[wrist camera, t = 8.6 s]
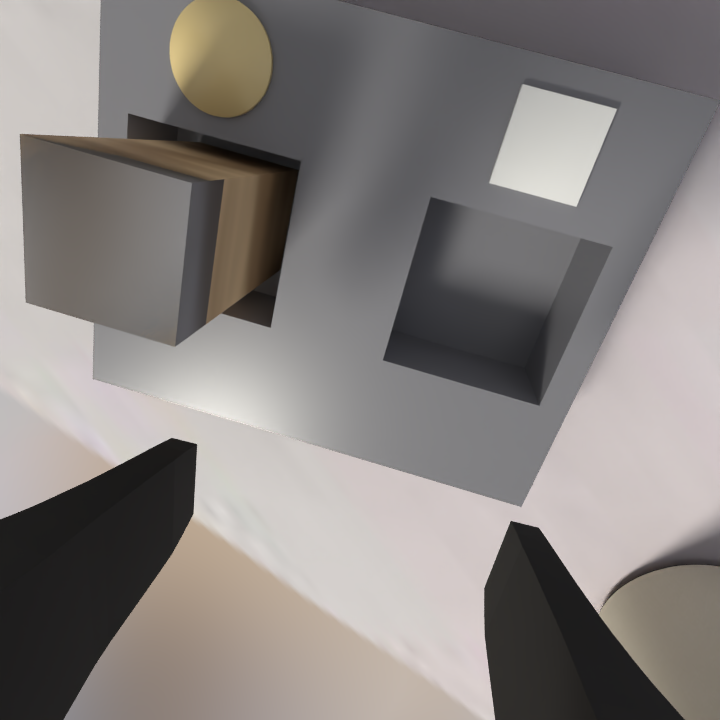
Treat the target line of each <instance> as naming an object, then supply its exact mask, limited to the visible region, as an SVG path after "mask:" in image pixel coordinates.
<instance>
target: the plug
mask: <svg viewBox="0 0 720 720" xmlns="http://www.w3.org/2000/svg"><path fill="white" fill-rule="evenodd" d="M20 149H21V178H22V206H23V235H24V263H25V292H26V303H29V304H33V305H36V306H39V307H43V308H46V309H49V310H53V311H56V312H59V313H63V314H66V315H70V316H73V317H76V318H80V319H83V320H86V321H90V322H93V323H96V324H100V325H103V326H106V327H110V328H113V329H116V330H120V331H123V332H126V333H130V334H133V335H136V336H140V337H143V338H146V339H150V340H153V341H157V342H160V343H163V344H167V345H170V346H173V347H176V346H177V345H179V344H180V343H181V342H183V341H184V340H185V339H187V338H188V337H189V336H191V335H192V334H194V333H195V332H196V331H198V330H199V329H200V328H202V327H203V326H204V325H206V324H207V323H209V322H210V321H211V320H213V319H214V318H215V317H217V316H218V315H219V314H221V313H222V312H224V311H225V310H226V309H228V308H229V307H230V306H232V305H233V304H234V303H236V302H237V301H239V300H240V299H241V298H243V297H244V296H245V295H247V294H248V293H249V292H251V291H252V290H254V289H255V288H256V287H258V286H259V285H260V284H262V283H263V282H264V281H266V280H267V279H269V278H270V277H271V276H273V275H274V274H275V273H277V272H278V271H279V270H280V267H281V262H282V257H283V251H284V246H285V241H286V235H287V230H288V225H289V219H290V214H291V209H292V203H293V198H294V193H295V187H296V182H297V176H298V171H299V170H297V169H293V168H290V167H286V166H282V165H279V164H275V163H272V162H268V161H265V160H261V159H258V158H254V157H251V156H247V155H243V154H240V153H236V152H233V151H229V150H226V149H222V148H219V147H215V146H212V145H208V144H205V143H201V142H187V141H165V140H142V139H120V138H98V137H75V136H53V135H31V134H20Z"/></svg>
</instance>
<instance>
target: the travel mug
mask: <svg viewBox="0 0 720 720" xmlns="http://www.w3.org/2000/svg"><path fill="white" fill-rule="evenodd" d="M599 616H600V617H601V618H602V620H603V621H604V623H605V624H606V625H607V627H608V628H609V629H610V631H611V632H612V633H613V635H614V636H615V637H616V638H617V640H618V641H619V642H620V643H621V645H622V646H623V647H624V649H625V650H626V651H627V652H628V654H629V655H630V656H631V657H632V659H633V660H634V661H635V662H636V664H637V665H638V666H639V667H640V669H641V670H642V671H643V672H644V673H645V675H646V676H647V677H648V678H649V679H650V681H651V682H652V683H653V684H654V685H655V686H656V688H657V689H658V690H659V691H660V692H661V693H662V694H663V696H664V697H665V698H666V699H667V700H668V701H669V702H670V703H671V705H672V706H673V707H674V708H675V709H676V710H677V711H678V712H679V714H680V715H681V716H682V717H683V718H684V719H685V720H720V567H719V566H711V565H682V566H674V567H669V568H664V569H660V570H656V571H653V572H650V573H647V574H645V575H642V576H640V577H638V578H636V579H634V580H632V581H630V582H629V583H627V584H625V585H624V586H622V587H621V588H620V589H619V590H617V591H616V592H615V593H614V594H613V595H612V596H611V597H610V598H609V599H608V600H607V602H606V603H605V605H604V606H603V608H602V610H601V612H600V614H599Z"/></svg>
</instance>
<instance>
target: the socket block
mask: <svg viewBox="0 0 720 720" xmlns="http://www.w3.org/2000/svg"><path fill="white" fill-rule="evenodd" d="M719 104H720V100H717V99H713V98H709V97H705V96H702V95H698V94H694V93H690V92H686V91H682V90H679V89H675V88H671V87H667V86H663V85H660V84H656V83H652V82H648V81H644V80H640V79H637V78H633V77H629V76H625V75H621V74H618V73H614V72H610V71H606V70H602V69H599V68H595V67H591V66H587V65H583V64H579V63H576V62H572V61H568V60H564V59H560V58H557V57H553V56H549V55H545V54H541V53H537V52H534V51H530V50H526V49H522V48H518V47H515V46H511V45H507V44H503V43H499V42H496V41H492V40H488V39H484V38H480V37H476V36H473V35H469V34H465V33H461V32H457V31H454V30H450V29H446V28H442V27H438V26H434V25H431V24H427V23H423V22H419V21H415V20H412V19H408V18H404V17H400V16H396V15H393V14H389V13H385V12H381V11H377V10H373V9H370V8H366V7H362V6H358V5H354V4H351V3H347V2H343V1H339V0H101V16H100V63H99V110H98V138H120V139H142V140H165V141H187V142H201V143H205V144H208V145H212V146H215V147H219V148H222V149H226V150H229V151H233V152H236V153H240V154H243V155H247V156H251V157H254V158H258V159H261V160H265V161H268V162H272V163H275V164H279V165H282V166H286V167H290V168H293V169H297V170H299V171H298V176H297V182H296V187H295V193H294V198H293V203H292V209H291V214H290V219H289V225H288V230H287V235H286V241H285V246H284V251H283V257H282V262H281V267H280V270H279V271H278V272H277V273H275V274H274V275H273V276H271V277H270V278H269V279H267V280H266V281H264V282H263V283H262V284H260V285H259V286H258V287H256V288H255V289H254V290H252V291H251V292H249V293H248V294H247V295H245V296H244V297H243V298H241V299H240V300H239V301H237V302H236V303H234V304H233V305H232V306H230V307H229V308H228V309H226V310H225V311H224V312H222V313H221V314H219V315H218V316H217V317H215V318H214V319H213V320H211V321H210V322H209V323H207V324H206V325H204V326H203V327H202V328H200V329H199V330H198V331H196V332H195V333H194V334H192V335H191V336H189V337H188V338H187V339H185V340H184V341H183V342H181V343H180V344H179V345H177V346H176V347H173V346H170V345H167V344H163V343H160V342H157V341H153V340H150V339H146V338H143V337H140V336H136V335H133V334H130V333H126V332H123V331H120V330H116V329H113V328H110V327H106V326H103V325H100V324H96V323H94V346H93V379H95V380H98V381H102V382H105V383H108V384H112V385H115V386H118V387H122V388H125V389H128V390H132V391H135V392H138V393H142V394H145V395H148V396H152V397H155V398H158V399H162V400H165V401H168V402H172V403H175V404H179V405H182V406H185V407H189V408H192V409H195V410H199V411H202V412H205V413H209V414H212V415H215V416H219V417H222V418H225V419H229V420H232V421H235V422H239V423H242V424H245V425H249V426H252V427H255V428H259V429H262V430H266V431H269V432H272V433H276V434H279V435H282V436H286V437H289V438H292V439H296V440H299V441H302V442H306V443H309V444H312V445H316V446H319V447H322V448H326V449H329V450H332V451H336V452H339V453H343V454H346V455H349V456H353V457H356V458H359V459H363V460H366V461H369V462H373V463H376V464H379V465H383V466H386V467H389V468H393V469H396V470H399V471H403V472H406V473H409V474H413V475H416V476H420V477H423V478H426V479H430V480H433V481H436V482H440V483H443V484H446V485H450V486H453V487H456V488H460V489H463V490H466V491H470V492H473V493H476V494H480V495H483V496H486V497H490V498H493V499H497V500H500V501H503V502H507V503H510V504H513V505H517V506H520V507H521V506H522V504H523V502H524V500H525V498H526V496H527V494H528V492H529V490H530V488H531V486H532V484H533V482H534V480H535V478H536V476H537V474H538V472H539V470H540V468H541V466H542V464H543V462H544V460H545V458H546V456H547V454H548V452H549V450H550V448H551V445H552V443H553V441H554V439H555V437H556V435H557V433H558V431H559V429H560V427H561V425H562V423H563V421H564V419H565V417H566V415H567V413H568V411H569V409H570V407H571V405H572V403H573V401H574V399H575V397H576V395H577V393H578V391H579V389H580V387H581V385H582V382H583V380H584V378H585V376H586V374H587V372H588V370H589V368H590V366H591V364H592V362H593V360H594V358H595V356H596V354H597V352H598V350H599V348H600V346H601V344H602V342H603V340H604V338H605V336H606V334H607V332H608V330H609V328H610V326H611V324H612V321H613V319H614V317H615V315H616V313H617V311H618V309H619V307H620V305H621V303H622V301H623V299H624V297H625V295H626V293H627V291H628V289H629V287H630V285H631V283H632V281H633V279H634V277H635V275H636V273H637V271H638V269H639V267H640V265H641V263H642V261H643V258H644V256H645V254H646V252H647V250H648V248H649V246H650V244H651V242H652V240H653V238H654V236H655V234H656V232H657V230H658V228H659V226H660V224H661V222H662V220H663V218H664V216H665V214H666V212H667V210H668V208H669V206H670V204H671V202H672V200H673V198H674V195H675V193H676V191H677V189H678V187H679V185H680V183H681V181H682V179H683V177H684V175H685V173H686V171H687V169H688V167H689V165H690V163H691V161H692V159H693V157H694V155H695V153H696V151H697V149H698V147H699V145H700V143H701V141H702V139H703V137H704V134H705V132H706V130H707V128H708V126H709V124H710V122H711V120H712V118H713V116H714V114H715V112H716V110H717V108H718V106H719Z"/></svg>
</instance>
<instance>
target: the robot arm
mask: <svg viewBox="0 0 720 720" xmlns="http://www.w3.org/2000/svg"><path fill="white" fill-rule="evenodd" d="M196 454H197V444H194V443H190V442H186V441H182V440H178V439H174V438H171V439H169V440H167V441H165V442H163V443H161V444H159V445H157V446H155V447H153V448H151V449H149V450H147V451H145V452H143V453H141V454H140V455H138V456H136V457H134V458H132V459H130V460H128V461H126V462H124V463H122V464H121V465H119V466H117V467H115V468H113V469H111V470H109V471H107V472H105V473H103V474H101V475H99V476H97V477H95V478H93V479H91V480H89V481H87V482H85V483H83V484H81V485H78V486H76V487H74V488H72V489H70V490H68V491H65V492H63V493H61V494H59V495H57V496H55V497H53V498H51V499H48V500H46V501H44V502H42V503H39V504H37V505H35V506H33V507H30V508H28V509H25V510H23V511H21V512H18V513H16V514H13V515H11V516H8V517H6V518H3V519H0V720H63V719H64V718H65V716H66V714H67V712H68V711H69V709H70V707H71V705H72V704H73V702H74V700H75V699H76V697H77V695H78V693H79V692H80V690H81V688H82V686H83V685H84V683H85V681H86V680H87V678H88V676H89V674H90V673H91V671H92V669H93V668H94V666H95V664H96V663H97V661H98V660H99V658H100V657H101V655H102V654H103V652H104V651H105V649H106V647H107V646H108V644H109V643H110V641H111V640H112V639H113V637H114V636H115V634H116V633H117V632H118V630H119V629H120V627H121V626H122V625H123V623H124V622H125V620H126V619H127V617H128V616H129V615H130V613H131V612H132V610H133V609H134V608H135V606H136V605H137V603H138V602H139V600H140V599H141V598H142V596H143V595H144V593H145V592H146V591H147V589H148V588H149V586H150V585H151V583H152V582H153V581H154V579H155V578H156V576H157V575H158V573H159V572H160V571H161V569H162V568H163V566H164V564H165V563H166V562H167V560H168V559H169V557H170V556H171V554H172V553H173V551H174V549H175V547H176V546H177V544H178V542H179V540H180V538H181V537H182V535H183V533H184V531H185V529H186V527H187V525H188V523H189V521H190V519H191V517H192V515H193V511H194V492H195V473H196ZM484 618H485V641H486V650H487V658H488V666H489V674H490V682H491V690H492V697H493V705H494V713H495V720H685V719H684V718H683V717H682V716H681V715H680V714H679V712H678V711H677V710H676V709H675V708H674V707H673V706H672V705H671V703H670V702H669V701H668V700H667V699H666V698H665V697H664V696H663V694H662V693H661V692H660V691H659V690H658V689H657V688H656V686H655V685H654V684H653V683H652V682H651V681H650V679H649V678H648V677H647V676H646V675H645V673H644V672H643V671H642V670H641V669H640V667H639V666H638V665H637V664H636V662H635V661H634V660H633V659H632V657H631V656H630V655H629V654H628V652H627V651H626V650H625V649H624V647H623V646H622V645H621V643H620V642H619V641H618V640H617V638H616V637H615V636H614V635H613V633H612V632H611V631H610V629H609V628H608V627H607V625H606V624H605V623H604V621H603V620H602V618H601V617H600V616H599V614H598V613H597V612H596V610H595V609H594V608H593V606H592V605H591V603H590V602H589V600H588V599H587V598H586V596H585V595H584V593H583V592H582V591H581V589H580V588H579V586H578V585H577V583H576V582H575V580H574V579H573V578H572V576H571V575H570V573H569V572H568V570H567V569H566V567H565V566H564V564H563V563H562V561H561V560H560V558H559V557H558V555H557V554H556V552H555V551H554V549H553V548H552V546H551V545H550V543H549V542H548V540H547V539H546V537H545V536H544V535H543V533H542V532H541V530H540V529H539V528H537V527H533V526H529V525H525V524H521V523H517V522H513V521H511V522H510V525H509V527H508V530H507V532H506V535H505V537H504V540H503V542H502V545H501V547H500V550H499V552H498V555H497V557H496V560H495V563H494V565H493V568H492V570H491V573H490V575H489V578H488V580H487V583H486V585H485V588H484Z"/></svg>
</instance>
